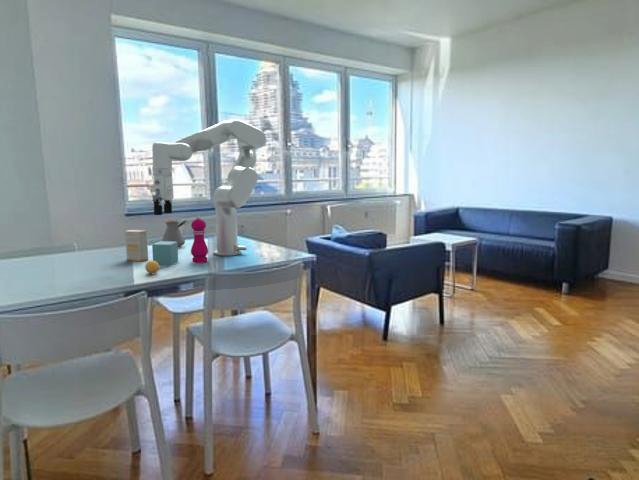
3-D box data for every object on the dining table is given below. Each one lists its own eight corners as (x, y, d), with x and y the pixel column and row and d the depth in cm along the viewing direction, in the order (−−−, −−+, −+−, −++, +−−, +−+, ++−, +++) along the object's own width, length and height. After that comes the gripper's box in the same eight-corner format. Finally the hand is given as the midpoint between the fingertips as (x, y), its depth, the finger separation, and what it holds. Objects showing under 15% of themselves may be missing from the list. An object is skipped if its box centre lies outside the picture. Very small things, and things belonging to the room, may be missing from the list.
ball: (161, 272, 179) (161, 259, 179) (156, 275, 174) (155, 262, 174) (149, 271, 180) (148, 259, 179) (143, 274, 175) (142, 261, 174)
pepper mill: (211, 260, 201) (210, 214, 198) (202, 264, 195) (200, 216, 191) (197, 259, 204) (195, 214, 200) (187, 262, 197) (185, 215, 194)
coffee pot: (157, 246, 234) (156, 217, 232) (179, 244, 242) (178, 215, 239) (176, 253, 218) (174, 221, 216) (198, 250, 226) (197, 219, 223)
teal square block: (178, 261, 199) (177, 241, 197) (171, 265, 191) (170, 244, 190) (160, 261, 199) (159, 241, 198) (153, 265, 191) (152, 244, 190)
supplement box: (149, 259, 202) (147, 230, 200) (140, 262, 198) (138, 231, 196) (135, 258, 206) (133, 229, 204) (126, 260, 201) (124, 230, 199)
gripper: (162, 172, 183) (163, 216, 185) (179, 173, 200) (179, 212, 202) (144, 172, 183) (145, 215, 186) (162, 172, 200) (163, 212, 203)
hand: (163, 214), depth 194 cm, fingers open, 9 cm apart
